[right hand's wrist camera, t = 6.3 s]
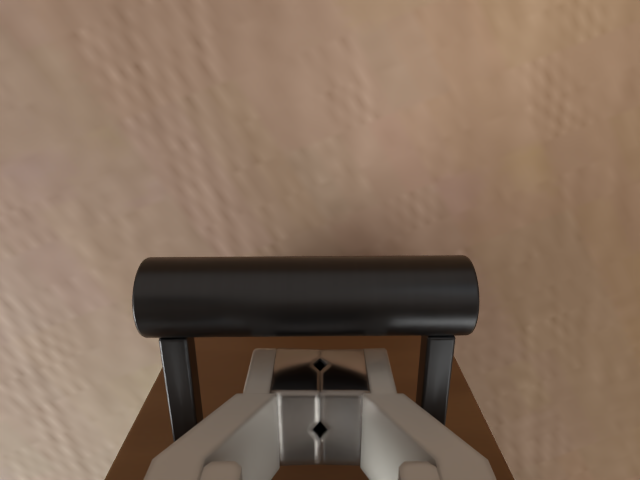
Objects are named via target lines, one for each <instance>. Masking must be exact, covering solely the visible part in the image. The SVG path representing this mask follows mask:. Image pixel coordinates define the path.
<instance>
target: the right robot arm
mask: <svg viewBox="0 0 640 480" xmlns="http://www.w3.org/2000/svg"><path fill="white" fill-rule="evenodd" d="M290 465H349V466H360V468H361V469H362V471H363V472H364V473H365V475H366V476H367V477H368V479H369V480H497V479H496V477H495V475H494V472H493V470H492V468H491V465H490V463H489V461H488V459H486V458H485V457H484V456H482V455H481V454H480V453H479V452H477V451H476V450H475V449H474V448H472V447H471V446H470V445H468V444H467V443H466V442H465V441H463V440H462V439H461V438H460V437H458V436H457V435H456V434H454V433H453V432H452V431H451V430H449V429H448V428H447V427H446V426H444V425H443V424H442V423H440V422H439V421H438V420H437V419H435V418H434V417H433V416H432V415H430V414H429V413H428V412H426V411H425V410H424V409H423V408H421V407H420V406H419V405H418V404H416V403H415V402H414V401H413V400H411V399H410V398H409V397H407V396H406V395H405V394H399V393H397V391H396V386H395V382H394V378H393V374H392V370H391V366H390V362H389V358H388V354H387V350H386V349H385V348H367V349H337V350H320V349H287V348H277V349H276V348H255V349H254V351H253V353H252V357H251V362H250V366H249V370H248V374H247V378H246V382H245V386H244V390H243V393H242V394H235V395H234V396H233V397H231V398H230V399H229V400H227V401H226V402H225V403H224V404H222V405H221V406H220V407H219V408H217V409H216V410H215V411H213V412H212V413H211V414H210V415H208V416H207V417H206V418H204V419H203V420H202V421H201V422H199V423H198V424H197V425H196V426H194V427H193V428H192V429H190V430H189V431H188V432H187V433H185V434H184V435H183V436H181V437H180V438H179V439H178V440H176V441H175V442H174V443H173V444H171V445H170V446H169V447H167V448H166V449H165V450H164V451H162V452H161V453H160V454H158V455H157V456H156V457H155V458H153V459H152V461H151V464H150V466H149V468H148V471H147V473H146V475H145V477H144V480H271V479H272V478H273V476H274V475H275V474H276V472H277V471H278V470H279V468H280V466H290Z"/></svg>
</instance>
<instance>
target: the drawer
mask: <svg viewBox="0 0 640 480" xmlns="http://www.w3.org/2000/svg"><path fill="white" fill-rule="evenodd" d="M132 306H133V316H134V321H135V325H136V328H137V330H138V332H139V333H140V334H141V335H142V336H143V337H146V338H160V339H159V345H160V352H161V358H162V365H163V367H162V369H161V371H160V373H159V375H158V377H157V379H156V381H155V383H154V385H153V387H152V389H151V391H150V393H149V395H148V397H147V398H146V400H145V402H144V404H143V406H142V408H141V410H140V412H139V414H138V416H137V418H136V420H135V422H134V424H133V426H132V428H131V429H130V431H129V433H128V435H127V437H126V439H125V441H124V443H123V445H122V447H121V449H120V451H119V453H118V455H117V457H116V458H115V460H114V462H113V464H112V466H111V468H110V470H109V472H108V474H107V476H106V478H105V480H144V477H145V475H146V473H147V471H148V468H149V466H150V464H151V461H152V459H153V458H155V457H156V456H157V455H158V454H160V453H161V452H162V451H164V450H165V449H166V448H167V447H169V446H170V445H171V444H173V443H174V442H175V441H176V440H178V439H179V438H180V437H181V436H183V435H184V434H185V433H187V432H188V431H189V430H190V429H192V428H193V427H194V426H196V425H197V424H198V423H199V422H201V421H202V420H203V419H204V418H206V417H207V416H208V415H210V414H211V413H212V412H213V411H215V410H216V409H217V408H219V407H220V406H221V405H222V404H224V403H225V402H226V401H227V400H229V399H230V398H231V397H233V396H234V395H235V394H242V393H243V390H244V386H245V382H246V378H247V374H248V370H249V366H250V362H251V357H252V353H253V351H254V349H255V348H276V349H277V348H287V349H320V350H337V349H367V348H385V349H386V350H387V354H388V358H389V362H390V366H391V370H392V374H393V378H394V382H395V386H396V391H397V393H399V394H405V395H406V396H407V397H409V398H410V399H411V400H413V401H414V402H415V403H416V404H418V405H419V406H420V407H421V408H423V409H424V410H425V411H426V412H428V413H429V414H430V415H432V416H433V417H434V418H435V419H437V420H438V421H439V422H440V423H442V424H443V425H444V426H446V427H447V428H448V429H449V430H451V431H452V432H453V433H454V434H456V435H457V436H458V437H460V438H461V439H462V440H463V441H465V442H466V443H467V444H468V445H470V446H471V447H472V448H474V449H475V450H476V451H477V452H479V453H480V454H481V455H482V456H484V457H485V458H486V459H488V461H489V463H490V465H491V468H492V470H493V472H494V475H495V477H496V479H497V480H514V478H513V476H512V474H511V472H510V470H509V468H508V466H507V464H506V462H505V460H504V457H503V455H502V453H501V451H500V449H499V447H498V445H497V443H496V441H495V439H494V437H493V435H492V433H491V431H490V429H489V427H488V425H487V423H486V421H485V419H484V417H483V415H482V412H481V410H480V408H479V406H478V404H477V402H476V400H475V398H474V396H473V394H472V392H471V390H470V388H469V386H468V384H467V382H466V380H465V378H464V376H463V374H462V372H461V370H460V367H459V365H458V363H457V361H456V359H455V357H454V355H453V354H454V345H455V336H454V335H469V334H471V333H472V332H473V330H474V329H475V326H476V323H477V319H478V313H479V287H478V281H477V276H476V272H475V269H474V266H473V264H472V262H471V261H470V259H469V258H468V257H466V256H463V255H451V256H290V257H150V258H147V259H145V260H144V261H143V262H142V263H141V264H140V266H139V268H138V271H137V274H136V277H135V281H134V287H133V298H132ZM271 480H369V479H368V477H367V476H366V475H365V473H364V472H363V471H362V469H361V468H360V466H349V465H290V466H280V468H279V470H278V471H277V472H276V474H275V475H274V476H273V478H272V479H271Z"/></svg>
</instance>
